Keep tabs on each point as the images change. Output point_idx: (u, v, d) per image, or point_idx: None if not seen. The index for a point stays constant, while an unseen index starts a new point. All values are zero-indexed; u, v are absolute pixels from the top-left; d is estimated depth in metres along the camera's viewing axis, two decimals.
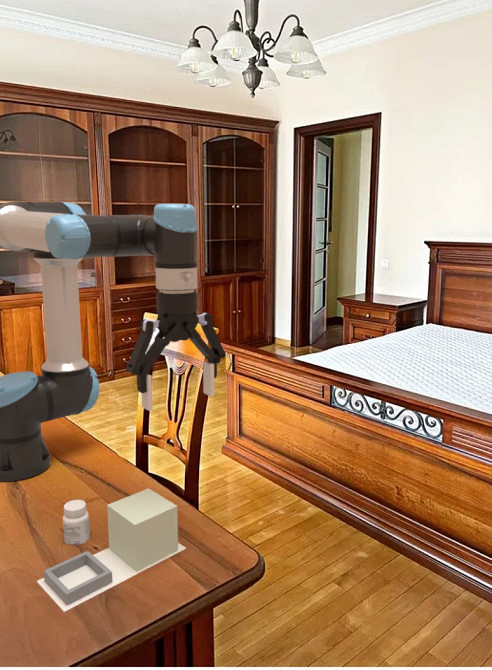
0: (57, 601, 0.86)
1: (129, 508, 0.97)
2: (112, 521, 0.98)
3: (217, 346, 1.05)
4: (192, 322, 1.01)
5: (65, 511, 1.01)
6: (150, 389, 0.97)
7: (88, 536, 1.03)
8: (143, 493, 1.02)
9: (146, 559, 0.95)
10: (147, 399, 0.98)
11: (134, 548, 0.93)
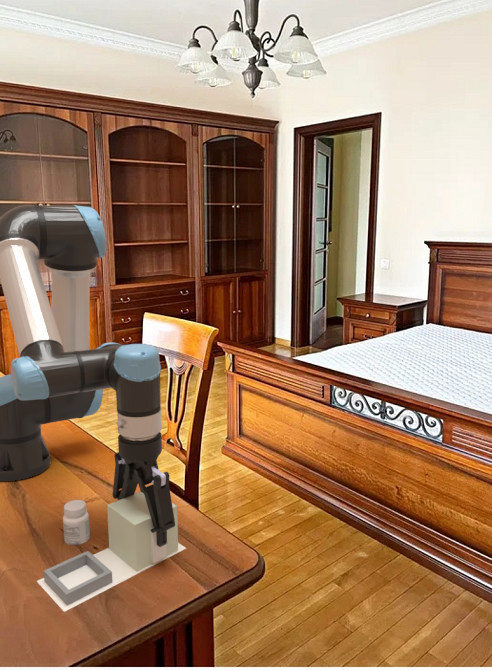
0: (57, 601, 0.86)
1: (129, 508, 0.97)
2: (112, 521, 0.98)
3: (158, 514, 0.92)
4: (143, 470, 0.94)
5: (65, 511, 1.01)
6: None
7: (88, 536, 1.03)
8: (143, 493, 1.02)
9: (146, 559, 0.95)
10: None
11: (134, 548, 0.93)
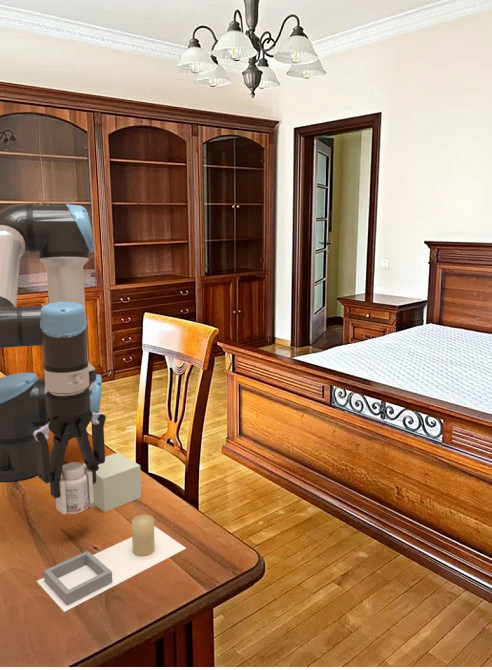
0: (57, 601, 0.86)
1: (99, 467, 1.16)
2: None
3: (100, 449, 1.03)
4: (85, 417, 1.00)
5: (63, 473, 0.99)
6: (63, 494, 0.99)
7: (86, 498, 1.02)
8: (113, 456, 1.21)
9: (113, 508, 1.14)
10: (61, 503, 1.00)
11: (103, 499, 1.12)
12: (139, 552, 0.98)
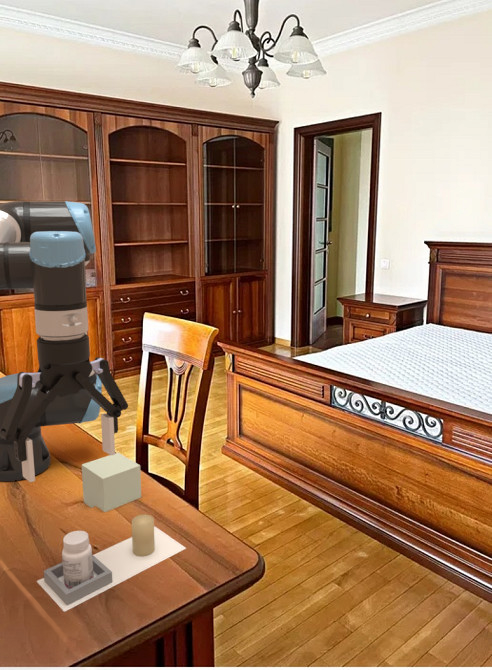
0: (57, 601, 0.86)
1: (99, 467, 1.16)
2: (85, 478, 1.17)
3: (117, 396, 0.89)
4: (84, 371, 0.84)
5: (65, 545, 0.88)
6: (31, 456, 0.80)
7: (91, 572, 0.90)
8: (113, 456, 1.21)
9: (113, 508, 1.14)
10: (28, 468, 0.81)
11: (103, 499, 1.12)
12: (139, 552, 0.98)
